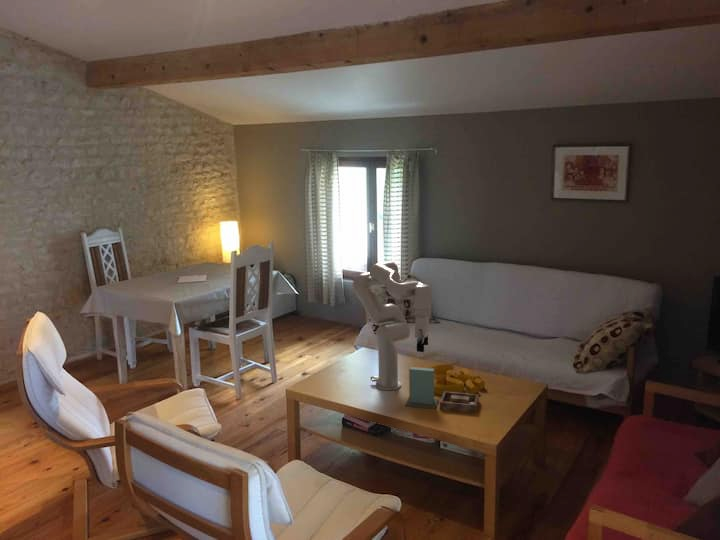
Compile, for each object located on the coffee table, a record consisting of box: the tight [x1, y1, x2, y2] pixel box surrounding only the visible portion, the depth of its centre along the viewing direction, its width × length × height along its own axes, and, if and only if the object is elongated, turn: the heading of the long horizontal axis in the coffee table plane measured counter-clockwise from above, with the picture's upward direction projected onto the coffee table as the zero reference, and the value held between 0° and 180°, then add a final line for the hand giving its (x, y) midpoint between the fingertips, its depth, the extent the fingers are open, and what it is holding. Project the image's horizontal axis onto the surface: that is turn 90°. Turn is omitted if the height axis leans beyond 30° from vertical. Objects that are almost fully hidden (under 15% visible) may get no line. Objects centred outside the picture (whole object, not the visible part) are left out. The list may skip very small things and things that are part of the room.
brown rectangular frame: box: [439, 391, 479, 414], centre depth 278 cm, size 16×13×4 cm
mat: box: [404, 397, 440, 410], centre depth 282 cm, size 14×10×1 cm
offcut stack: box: [449, 395, 474, 404], centre depth 276 cm, size 11×4×5 cm, turn 74°
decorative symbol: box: [429, 364, 486, 396], centre depth 304 cm, size 30×5×30 cm
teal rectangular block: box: [408, 366, 435, 404], centre depth 281 cm, size 11×3×16 cm, turn 74°
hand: (422, 348), depth 277 cm, fingers open, 9 cm apart
